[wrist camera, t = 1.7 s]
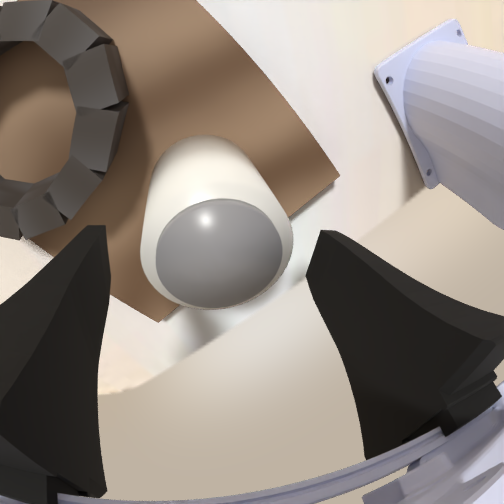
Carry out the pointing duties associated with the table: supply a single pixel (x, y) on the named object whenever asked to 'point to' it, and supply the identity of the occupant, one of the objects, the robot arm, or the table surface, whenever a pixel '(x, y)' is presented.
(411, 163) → the table surface
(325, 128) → the table surface
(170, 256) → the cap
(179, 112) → the socket board
